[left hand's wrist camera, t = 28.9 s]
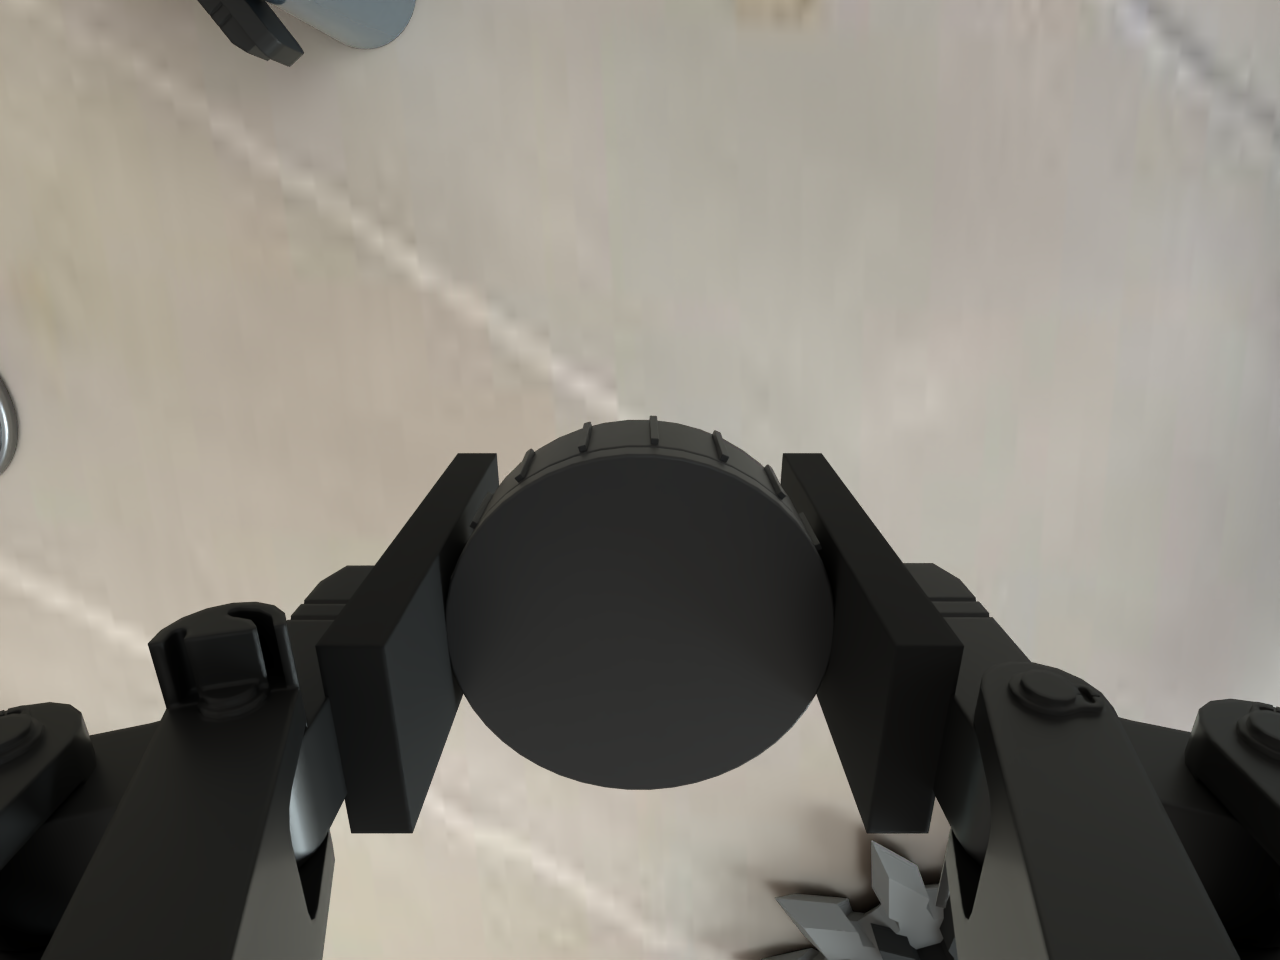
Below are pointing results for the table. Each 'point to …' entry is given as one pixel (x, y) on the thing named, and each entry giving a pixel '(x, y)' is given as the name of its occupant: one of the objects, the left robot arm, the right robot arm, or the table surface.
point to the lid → (639, 607)
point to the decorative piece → (876, 918)
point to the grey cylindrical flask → (353, 19)
